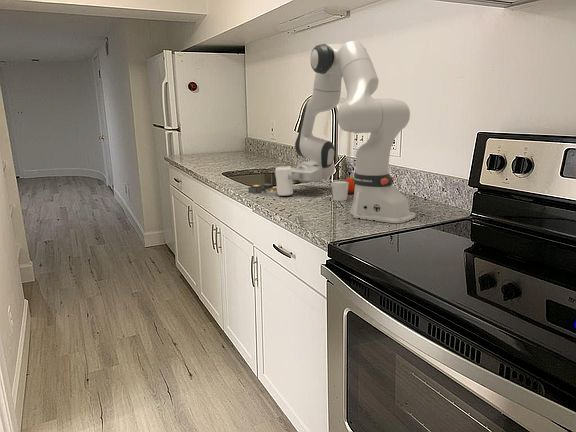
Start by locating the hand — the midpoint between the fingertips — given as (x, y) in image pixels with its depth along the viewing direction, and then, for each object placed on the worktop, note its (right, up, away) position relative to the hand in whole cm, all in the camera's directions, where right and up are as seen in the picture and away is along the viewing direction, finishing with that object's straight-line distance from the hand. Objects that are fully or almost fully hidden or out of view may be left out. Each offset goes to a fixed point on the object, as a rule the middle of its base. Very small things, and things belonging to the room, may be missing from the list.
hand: (283, 176), depth 182 cm
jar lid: (-3, -6, +10) cm, 12 cm away
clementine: (+29, -6, +12) cm, 32 cm away
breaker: (-12, -5, +11) cm, 17 cm away
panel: (-6, -7, +11) cm, 14 cm away
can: (+1, -7, +3) cm, 8 cm away
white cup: (+23, -9, +1) cm, 24 cm away
